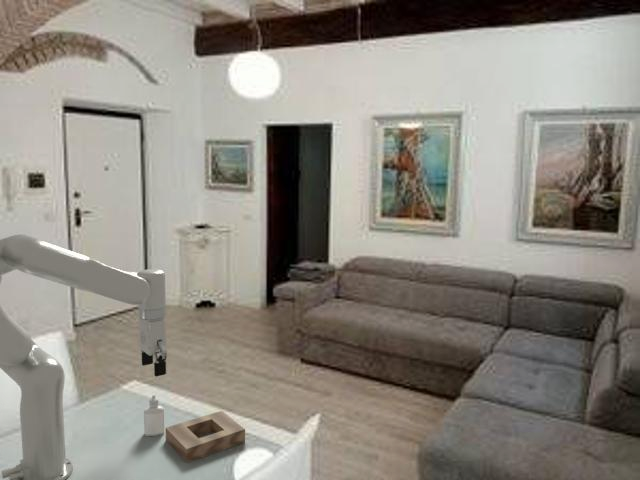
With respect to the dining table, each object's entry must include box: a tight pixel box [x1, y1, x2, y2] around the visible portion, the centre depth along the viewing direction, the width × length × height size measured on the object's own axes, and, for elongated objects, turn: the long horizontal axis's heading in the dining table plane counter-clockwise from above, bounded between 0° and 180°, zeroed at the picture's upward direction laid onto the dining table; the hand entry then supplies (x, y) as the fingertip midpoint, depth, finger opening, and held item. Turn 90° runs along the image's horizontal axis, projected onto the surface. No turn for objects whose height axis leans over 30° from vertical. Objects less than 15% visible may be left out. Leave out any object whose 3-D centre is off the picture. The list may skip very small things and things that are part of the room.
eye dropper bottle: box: [143, 393, 165, 437], centre depth 154 cm, size 4×6×12 cm
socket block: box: [165, 410, 246, 464], centre depth 151 cm, size 18×14×4 cm
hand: (153, 369), depth 153 cm, fingers open, 9 cm apart
